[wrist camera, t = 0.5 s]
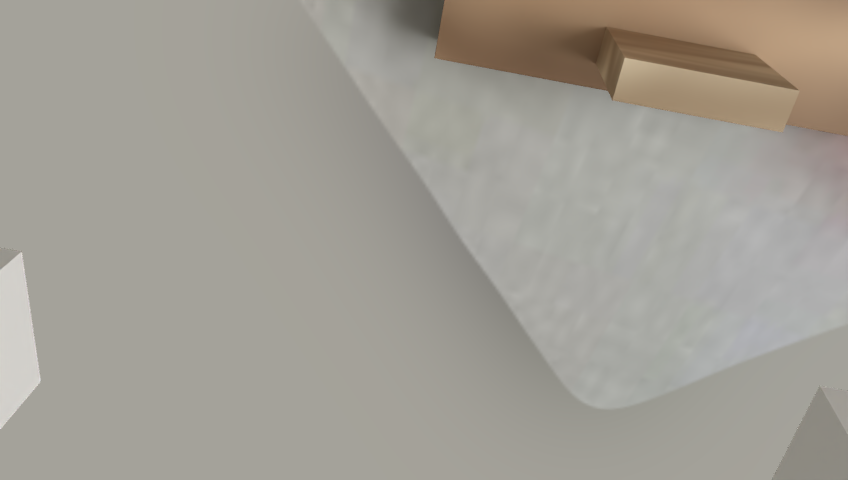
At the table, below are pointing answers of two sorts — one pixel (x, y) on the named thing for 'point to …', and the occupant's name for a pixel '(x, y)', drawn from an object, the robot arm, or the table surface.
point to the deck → (671, 53)
